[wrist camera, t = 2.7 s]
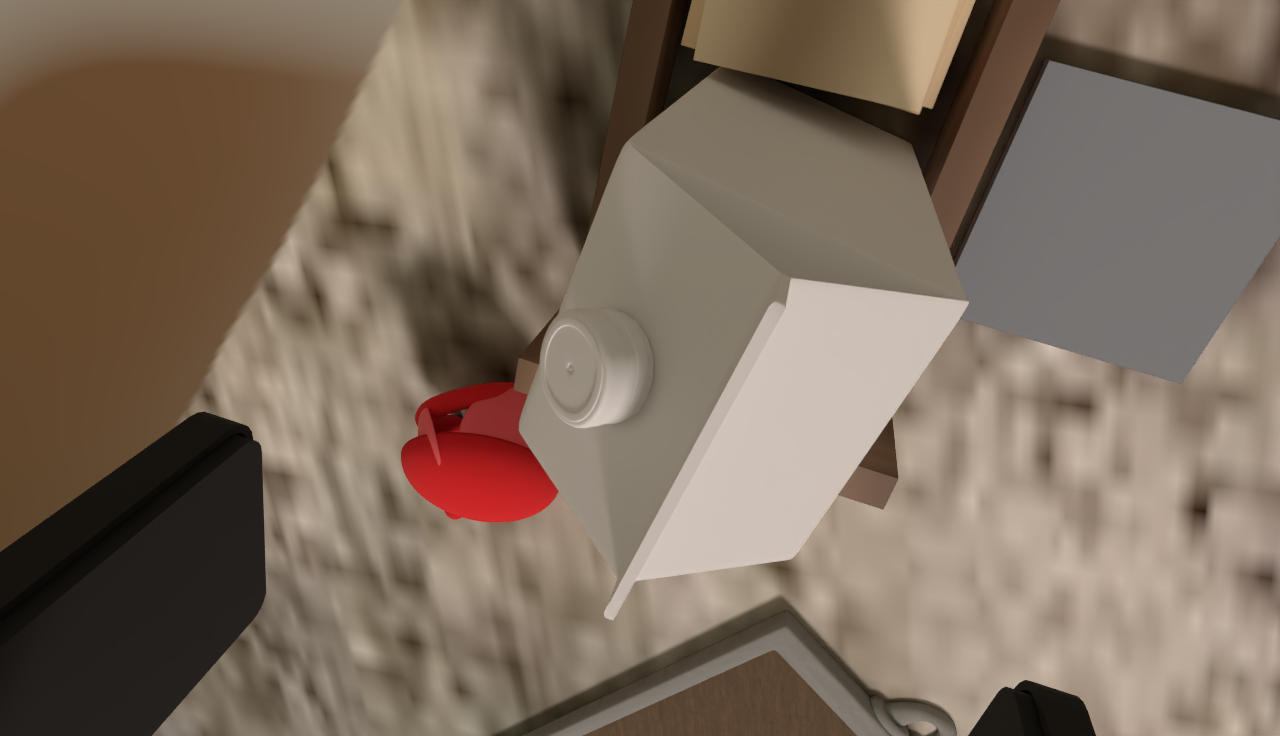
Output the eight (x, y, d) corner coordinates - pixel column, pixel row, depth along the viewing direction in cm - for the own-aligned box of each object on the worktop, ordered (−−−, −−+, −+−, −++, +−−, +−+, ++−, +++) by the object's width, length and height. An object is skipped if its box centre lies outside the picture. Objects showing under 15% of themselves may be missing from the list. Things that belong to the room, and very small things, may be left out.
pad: (1334, 133, 24) (1345, 137, 24) (1175, 376, 29) (1181, 384, 28) (1045, 58, 25) (1049, 60, 25) (933, 305, 30) (935, 311, 29)
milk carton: (913, 142, 27) (1012, 411, 11) (816, 310, 31) (781, 703, 14) (728, 56, 27) (550, 194, 11) (653, 233, 31) (434, 537, 15)
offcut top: (960, -31, 22) (969, -31, 20) (914, 102, 23) (919, 112, 22) (731, -80, 22) (722, -83, 21) (703, 53, 24) (693, 60, 22)
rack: (1050, -34, 24) (1147, -34, 16) (874, 374, 31) (883, 509, 24) (679, -127, 25) (603, -167, 18) (593, 288, 33) (513, 390, 25)
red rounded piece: (362, 421, 35) (391, 555, 34) (420, 379, 30) (455, 531, 29) (514, 401, 40) (543, 516, 39) (581, 364, 36) (616, 492, 35)
